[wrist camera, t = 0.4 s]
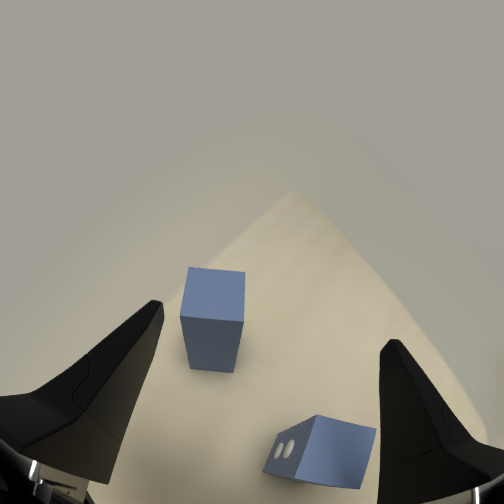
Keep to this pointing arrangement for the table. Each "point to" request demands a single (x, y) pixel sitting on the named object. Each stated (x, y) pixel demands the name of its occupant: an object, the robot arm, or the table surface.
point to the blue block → (213, 318)
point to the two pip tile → (322, 453)
